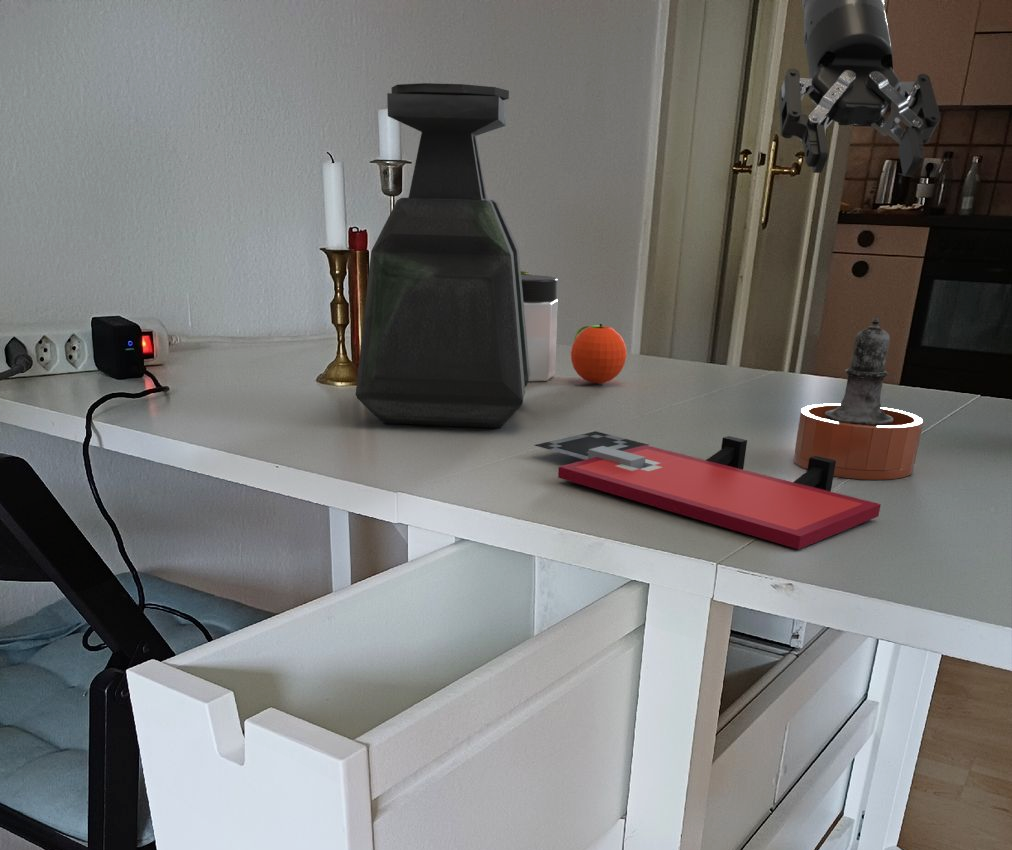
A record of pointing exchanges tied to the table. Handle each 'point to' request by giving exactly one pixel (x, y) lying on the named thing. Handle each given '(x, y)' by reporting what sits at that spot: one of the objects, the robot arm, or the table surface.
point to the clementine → (598, 353)
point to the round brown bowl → (859, 444)
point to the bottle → (445, 277)
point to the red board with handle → (716, 488)
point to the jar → (540, 324)
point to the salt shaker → (865, 380)
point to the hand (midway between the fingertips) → (866, 167)
